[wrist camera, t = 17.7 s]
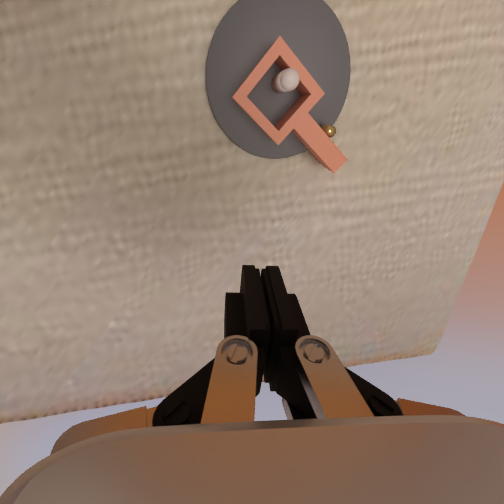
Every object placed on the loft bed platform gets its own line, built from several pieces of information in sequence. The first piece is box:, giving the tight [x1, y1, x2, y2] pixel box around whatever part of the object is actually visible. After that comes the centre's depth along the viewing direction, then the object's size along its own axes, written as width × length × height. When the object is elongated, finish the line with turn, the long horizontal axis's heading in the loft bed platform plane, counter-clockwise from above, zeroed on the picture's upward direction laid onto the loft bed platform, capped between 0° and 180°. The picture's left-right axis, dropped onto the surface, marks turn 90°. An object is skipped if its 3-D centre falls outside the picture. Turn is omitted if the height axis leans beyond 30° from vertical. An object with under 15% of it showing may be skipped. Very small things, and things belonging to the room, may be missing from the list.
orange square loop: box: [232, 36, 347, 173], centre depth 29 cm, size 14×7×4 cm, turn 47°
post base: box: [206, 0, 350, 159], centre depth 27 cm, size 16×16×7 cm
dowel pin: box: [319, 124, 336, 137], centre depth 31 cm, size 1×1×3 cm
